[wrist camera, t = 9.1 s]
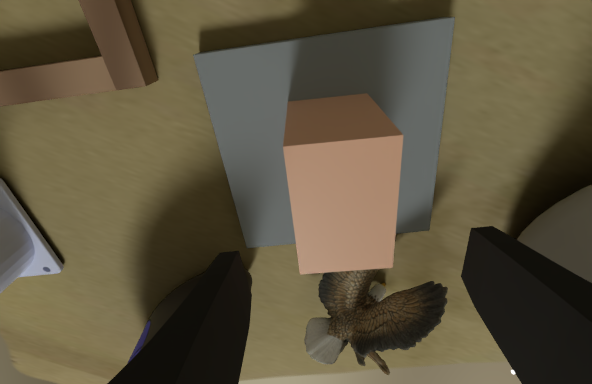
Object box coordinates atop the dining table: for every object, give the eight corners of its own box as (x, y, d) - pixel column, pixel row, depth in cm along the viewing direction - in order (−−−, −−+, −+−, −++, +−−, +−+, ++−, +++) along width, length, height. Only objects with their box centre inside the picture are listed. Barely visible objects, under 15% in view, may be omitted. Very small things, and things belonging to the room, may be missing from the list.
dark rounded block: (204, 237, 21) (147, 376, 13) (259, 265, 23) (238, 407, 14) (124, 348, 28) (54, 485, 20) (170, 365, 29) (122, 499, 21)
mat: (248, 238, 21) (246, 248, 20) (199, 52, 15) (193, 54, 14) (423, 221, 20) (429, 230, 19) (445, 16, 14) (454, 17, 13)
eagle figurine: (406, 331, 25) (465, 268, 19) (371, 416, 20) (436, 367, 14) (328, 277, 27) (358, 206, 21) (279, 340, 22) (302, 271, 17)
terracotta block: (299, 201, 18) (300, 274, 13) (287, 101, 15) (282, 146, 10) (365, 195, 18) (392, 267, 13) (367, 93, 15) (403, 134, 10)
